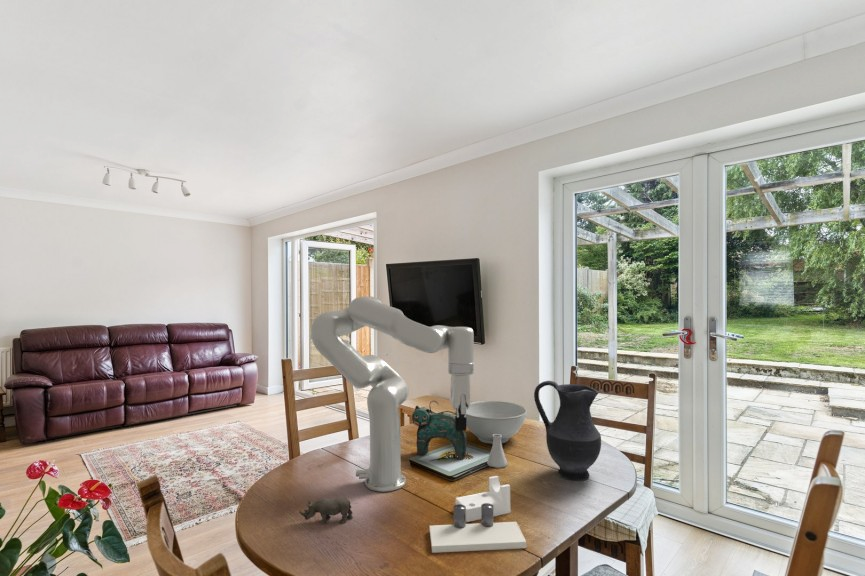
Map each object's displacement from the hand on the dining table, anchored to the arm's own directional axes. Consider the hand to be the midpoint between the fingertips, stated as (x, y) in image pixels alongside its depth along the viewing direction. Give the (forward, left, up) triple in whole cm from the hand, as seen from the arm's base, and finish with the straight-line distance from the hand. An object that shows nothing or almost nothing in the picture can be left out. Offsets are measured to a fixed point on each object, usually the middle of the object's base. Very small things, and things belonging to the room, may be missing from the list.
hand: (460, 429), depth 133 cm
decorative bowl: (+19, +46, -19) cm, 53 cm away
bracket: (+4, -12, -19) cm, 23 cm away
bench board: (0, -26, -19) cm, 32 cm away
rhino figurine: (-38, -14, -19) cm, 44 cm away
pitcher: (+36, +10, -19) cm, 42 cm away
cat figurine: (-4, +30, -19) cm, 36 cm away
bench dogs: (0, -22, -18) cm, 28 cm away
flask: (+15, +20, -19) cm, 31 cm away
